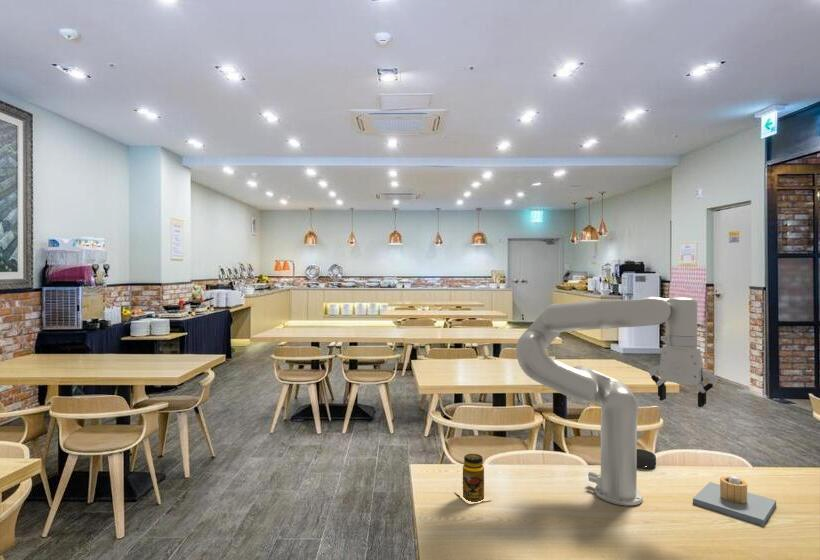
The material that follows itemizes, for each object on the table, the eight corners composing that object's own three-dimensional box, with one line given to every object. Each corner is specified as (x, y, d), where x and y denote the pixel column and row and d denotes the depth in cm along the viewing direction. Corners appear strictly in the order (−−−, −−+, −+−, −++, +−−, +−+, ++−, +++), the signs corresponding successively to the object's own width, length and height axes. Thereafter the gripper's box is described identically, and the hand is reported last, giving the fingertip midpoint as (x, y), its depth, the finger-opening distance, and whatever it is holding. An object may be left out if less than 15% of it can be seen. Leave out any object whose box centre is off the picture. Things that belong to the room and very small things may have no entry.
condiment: (468, 506, 127) (468, 462, 127) (454, 493, 135) (454, 452, 135) (491, 501, 130) (491, 458, 130) (475, 488, 138) (475, 448, 138)
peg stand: (692, 503, 129) (692, 476, 129) (709, 486, 140) (709, 462, 140) (763, 525, 117) (763, 496, 117) (776, 505, 128) (776, 478, 128)
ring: (717, 498, 129) (717, 480, 129) (723, 492, 133) (723, 474, 133) (743, 506, 124) (743, 487, 124) (749, 499, 128) (749, 481, 128)
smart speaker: (623, 465, 157) (623, 453, 157) (630, 457, 164) (630, 446, 164) (652, 472, 151) (652, 459, 151) (658, 464, 158) (658, 452, 158)
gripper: (643, 339, 133) (643, 399, 132) (713, 346, 120) (713, 411, 120) (653, 337, 138) (653, 395, 138) (721, 343, 125) (721, 406, 125)
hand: (681, 402), depth 129 cm, fingers open, 9 cm apart
